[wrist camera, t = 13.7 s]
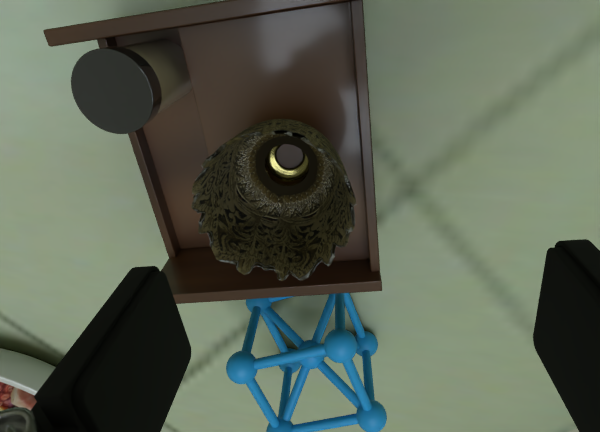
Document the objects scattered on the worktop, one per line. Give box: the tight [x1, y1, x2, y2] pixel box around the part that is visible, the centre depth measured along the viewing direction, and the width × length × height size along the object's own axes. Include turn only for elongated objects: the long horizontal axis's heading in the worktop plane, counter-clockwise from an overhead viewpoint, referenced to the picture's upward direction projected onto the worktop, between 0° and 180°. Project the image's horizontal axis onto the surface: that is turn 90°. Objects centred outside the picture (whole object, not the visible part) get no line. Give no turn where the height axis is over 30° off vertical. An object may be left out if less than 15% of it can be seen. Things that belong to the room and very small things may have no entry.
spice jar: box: [71, 39, 192, 134], centre depth 24 cm, size 4×4×7 cm
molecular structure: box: [226, 293, 387, 432], centre depth 35 cm, size 10×10×10 cm
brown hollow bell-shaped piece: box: [191, 119, 356, 281], centre depth 22 cm, size 8×7×8 cm
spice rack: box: [44, 0, 382, 304], centre depth 28 cm, size 18×16×9 cm
